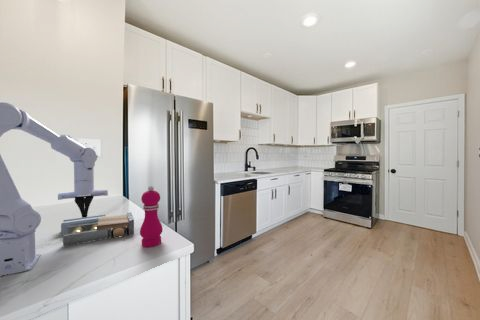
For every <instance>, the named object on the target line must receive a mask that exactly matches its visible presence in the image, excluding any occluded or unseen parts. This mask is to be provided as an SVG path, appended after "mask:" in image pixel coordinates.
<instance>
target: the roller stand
mask: <svg viewBox="0 0 480 320" xmlns="http://www.w3.org/2000/svg"><path fill="white" fill-rule="evenodd" d="M101 217H107V216H106V214H104V213H103V214H98V215H91V216H87V217H83V218H82V217H76V218H67V219H63V221H62V222H61V224H60V235H61V236H63V235H66V234H68V227H69V226H75V225H82V224H88V223H95V222H98V220H99V218H101Z"/></svg>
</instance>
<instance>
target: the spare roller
mask: <svg viewBox="0 0 480 320" xmlns="http://www.w3.org/2000/svg"><path fill="white" fill-rule="evenodd" d="M112 235H113V237H114V238H116V237H117V238H120V237H119V236H122V237H123V236H124V235H125V233H124V227H119V228H112Z"/></svg>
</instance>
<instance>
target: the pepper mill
mask: <svg viewBox="0 0 480 320" xmlns="http://www.w3.org/2000/svg"><path fill="white" fill-rule="evenodd" d="M147 189H148V190H147V191H145V192H143V193H142V195H141V199H140V200H141V202H142V204H143V205H142V206H143V211H144V219H143V222H142V224H141V225H140V226H141V227H140V229H139V235H140V237H141V238H142V239H141V246H142V247H144V248H152V247H156V246H158V245H160V244H161V243H162V236H161V235H162V233H163V225H162V222H161V221H160V219H159V216H158V209H159V208H160V205H159V202H160V201H161V194H160V193H159V192H158V191H157V190H154V186H152V185H150V186H148V188H147Z"/></svg>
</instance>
